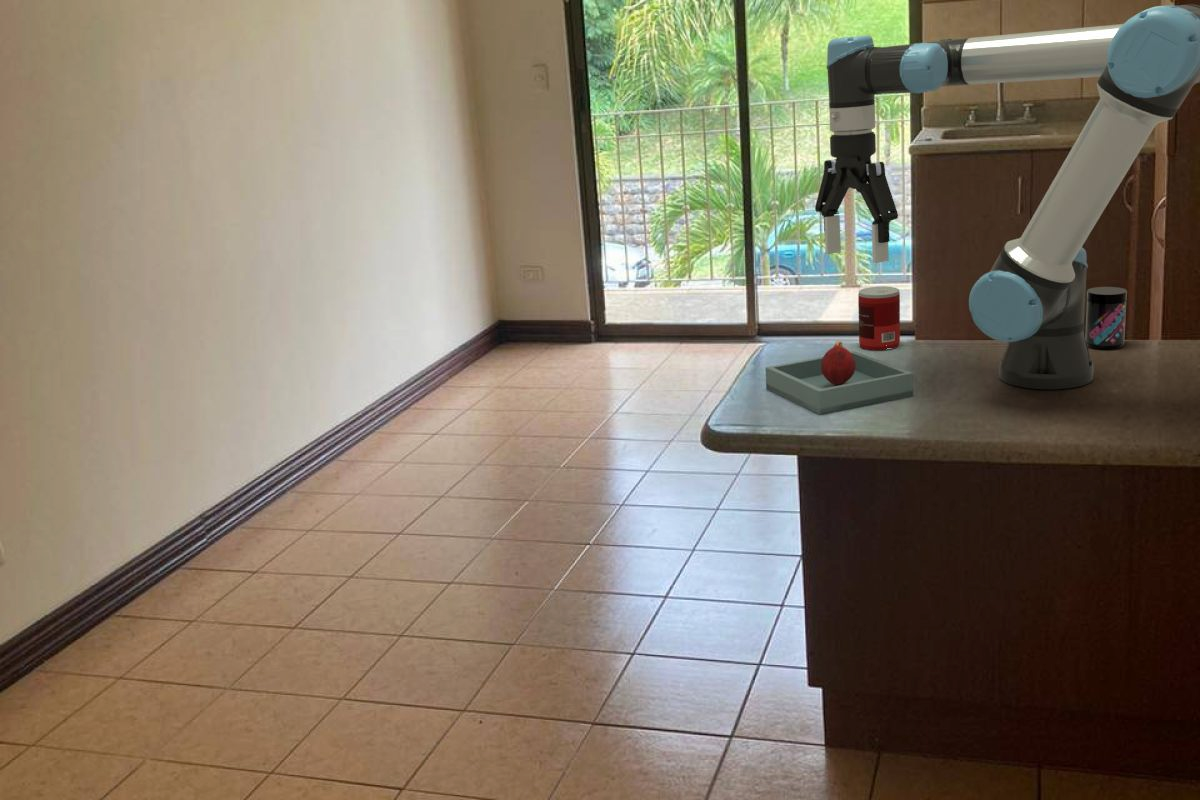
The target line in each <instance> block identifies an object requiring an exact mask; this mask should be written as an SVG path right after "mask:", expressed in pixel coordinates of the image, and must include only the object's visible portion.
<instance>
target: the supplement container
mask: <svg viewBox="0 0 1200 800" xmlns="http://www.w3.org/2000/svg"><path fill="white" fill-rule="evenodd" d="M1127 294H1128V290H1127V289H1126V288H1122V287H1117V286H1116V287H1115V286H1098V287H1091V288H1088V289H1087V290H1086V315H1085V317H1086V319H1085V336H1084V337H1085V340H1086V344H1087V347H1088V348H1089V349H1092V350H1093V349H1094V350H1102V351H1111V350H1118V349H1121V348H1123V346H1124V344H1125V335H1126V334H1125V332H1126V314H1127V313H1126V312H1127V311H1126V310H1127V296H1128V295H1127Z"/></svg>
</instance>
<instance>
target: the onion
mask: <svg viewBox="0 0 1200 800" xmlns="http://www.w3.org/2000/svg"><path fill="white" fill-rule="evenodd" d="M850 352H851V351H850V350H849V349H847V348H846V347H844V346H843V342H841V341H840V340H837V341H836V342H835V344H834V345H833V347H831V348H830V349H828V350H827V351H826V352H825V353H824V354H823V356H822V357H823V359H822V363H821V370H822V374H823V375H824V377H825V378H826V379H827V380H828V381H829V382H830V383H832V384H833V385H835V386H839V385H843V384H844V383H845V382H847V381H848V380H849V379H850V378H851V377H852V376H853V374H854V372H855V360H854V357H853V355H852V354H851V353H850Z"/></svg>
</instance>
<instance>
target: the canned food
mask: <svg viewBox="0 0 1200 800" xmlns="http://www.w3.org/2000/svg"><path fill="white" fill-rule="evenodd" d="M857 297H858V299H857V300H858V301H857V304H858V342H859V343H858V344H859V346H860V348H861V349H863V350H867V351H872V352H873V351H876V352H877V351H887V350H886V349H887V348H894V349H896V348H897V347H899V345H900V342H901V322H900V321H901V299H900V297H901V295H900V289H899V288H898V287H894V286H885V285H884V286H880V285H879V286H869V287H865V288H862V289H859V290H858V295H857ZM886 345H887V346H886ZM895 347H896V348H895Z"/></svg>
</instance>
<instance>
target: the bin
mask: <svg viewBox="0 0 1200 800" xmlns="http://www.w3.org/2000/svg"><path fill="white" fill-rule="evenodd" d="M849 352H850V353H851V354H852V355H853V357H854V360H855V372H854V374H853V376H852V377H851V378H850V379H849V380H848V381H847V382H845V383H844V384H843V385H839V386H835V385H833V384H832V383H830V382H829V381H828V380H827V379H826V378H825V377H824V375H823V374H822V370H821V363H822V359H823V357H824V356H819V357H814V358H809V359H803V360H798V361H792V362H787V363H781V364H776V365H771V366H766V367H765V389H766V390H767V389H768V390H767V391H769V390H770V392H771V391H772V393H773V392H774V393H773V394H775V393H776V395H778V396H780V397H782V398H784V399H786V400H787V401H790V402H792V403H794V404H796V405H798V406H801V407H803V408H805V409H807V410H808V411H811V412H813V413H815V414H817V415H820V416H821V415H826V414H831V413H835V412H836V413H837V412H841V411H846V410H853V409H855V408H860V407H866V406H871V405H876V404H880V403H886V402H891V401H895V400H901V399H906V398H909V397H910V398H911V397H914V373H913V372H911V371H908V370H905V369H902V368H901V367H898V366H896V365H892V364H889V363H887V362H885V361H882V360H879V359H876V358H874V357H871V356H868V355H866V354H863V353H861V352H858V351H856V350H852V351H849Z"/></svg>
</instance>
